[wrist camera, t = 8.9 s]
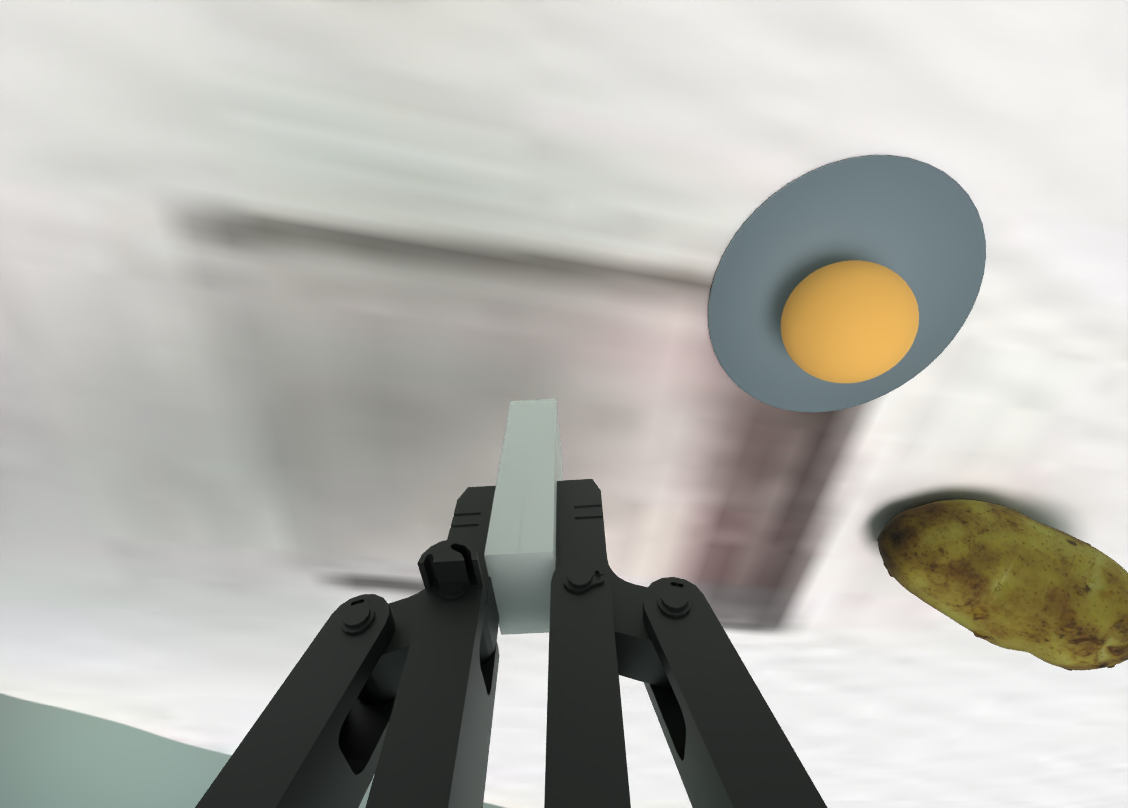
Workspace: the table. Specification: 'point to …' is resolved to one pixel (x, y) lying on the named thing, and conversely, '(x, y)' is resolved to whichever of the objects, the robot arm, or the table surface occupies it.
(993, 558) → the potato
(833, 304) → the ball
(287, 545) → the table surface
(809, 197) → the disc
